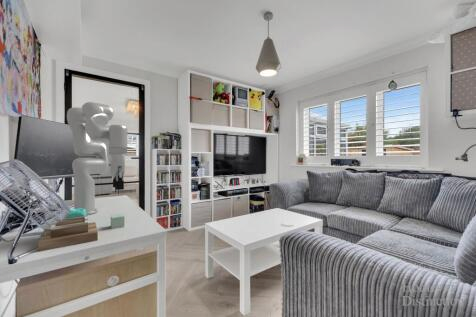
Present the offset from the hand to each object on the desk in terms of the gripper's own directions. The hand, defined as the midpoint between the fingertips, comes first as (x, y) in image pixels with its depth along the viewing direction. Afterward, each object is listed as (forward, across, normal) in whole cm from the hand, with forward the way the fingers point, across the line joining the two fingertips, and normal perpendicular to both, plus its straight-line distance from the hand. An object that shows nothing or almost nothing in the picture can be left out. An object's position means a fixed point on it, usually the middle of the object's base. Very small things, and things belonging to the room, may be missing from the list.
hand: (118, 188), depth 99 cm
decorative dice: (+18, -9, -16) cm, 26 cm away
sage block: (+18, -1, 0) cm, 18 cm away
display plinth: (+18, +5, -17) cm, 25 cm away
